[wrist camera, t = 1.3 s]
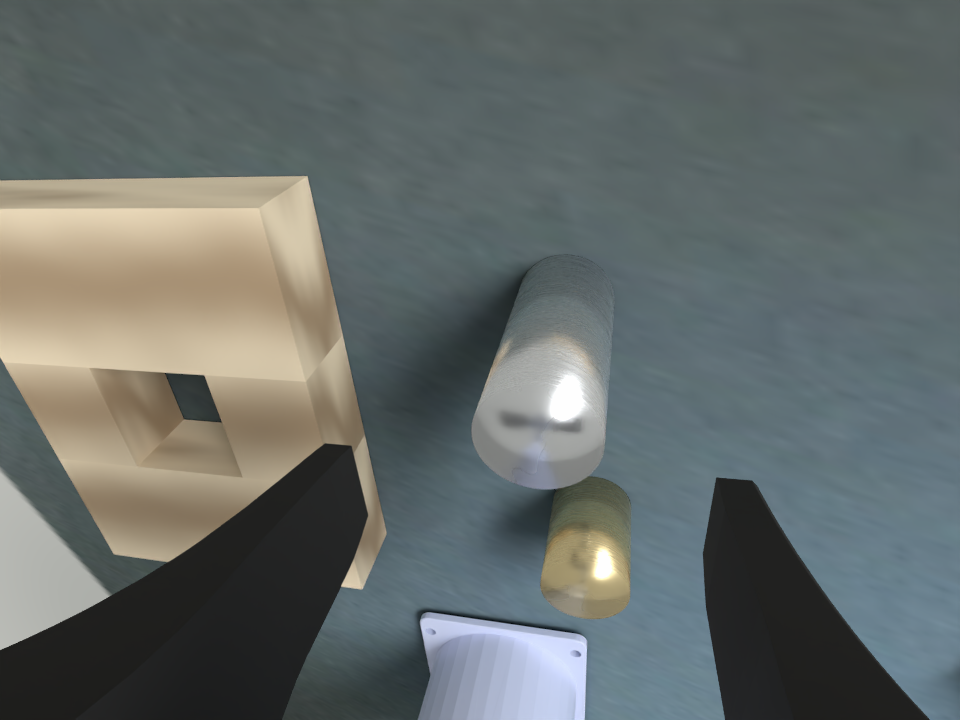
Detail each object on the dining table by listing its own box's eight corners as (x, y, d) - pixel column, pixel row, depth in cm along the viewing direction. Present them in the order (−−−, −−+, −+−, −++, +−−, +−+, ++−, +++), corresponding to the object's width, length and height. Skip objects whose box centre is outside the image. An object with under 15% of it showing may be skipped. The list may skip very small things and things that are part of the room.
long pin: (612, 341, 20) (602, 495, 14) (521, 337, 21) (476, 482, 15) (616, 255, 18) (607, 389, 13) (517, 253, 19) (466, 380, 13)
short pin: (628, 535, 25) (627, 624, 21) (553, 527, 25) (541, 612, 22) (633, 480, 23) (632, 566, 20) (552, 472, 24) (539, 555, 20)
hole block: (386, 533, 28) (362, 589, 25) (156, 505, 30) (113, 554, 28) (307, 176, 19) (258, 208, 17) (-4, 180, 22) (-86, 208, 19)
